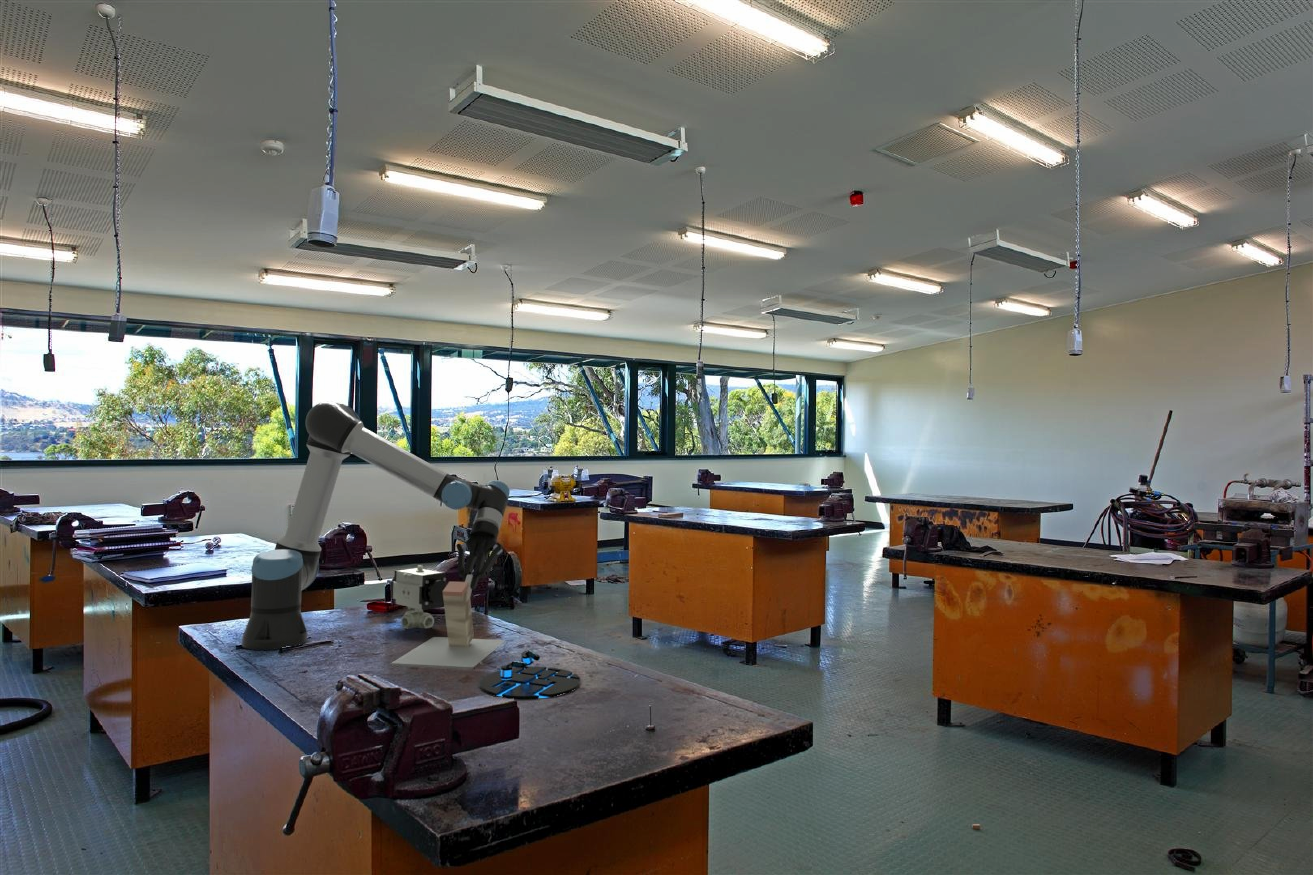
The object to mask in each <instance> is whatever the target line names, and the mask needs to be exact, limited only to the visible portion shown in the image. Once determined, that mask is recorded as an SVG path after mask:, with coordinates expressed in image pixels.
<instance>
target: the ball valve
mask: <svg viewBox="0 0 1313 875" xmlns="http://www.w3.org/2000/svg"><path fill="white" fill-rule="evenodd" d="M446 580H447V578H446V572H442V571H436V570H431V569H425V568H424V566H423V565H421V564H420V565H419V564H418V565H417V567H411V568H404V569H402V568H401V569H396V570H394V576H393V578H391V581H390V598H391V599H393V604H395V605H399V606H402V607H403V606H405V607H407V610H409V611H406V612H405V613H404V615H402V617H401V621H400V623H401V624H400V625H401V627H402V628H403V629H406V630H408V629H409V630H410V629H416V628H418V629H425V630H426V629H430V628H432V627H433V625H434V623H435V619H434V617H433V615H431V613H428V612H426V610H432V609H437V608H442V607H444V600H443V590H444V589H445V587H446V586H447V584H448V582H447V581H446ZM411 609H412V610H411Z"/></svg>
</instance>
